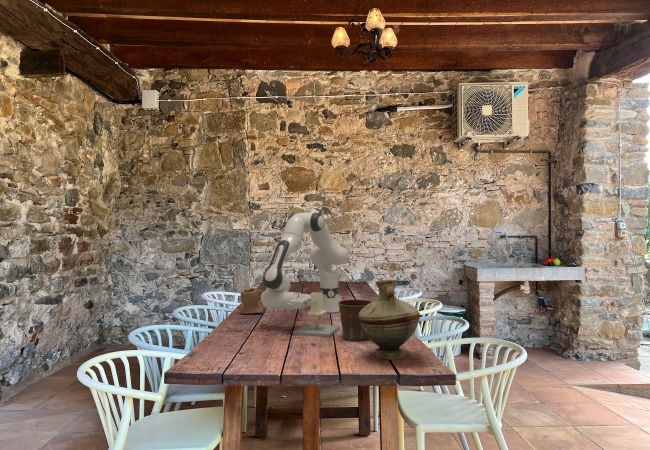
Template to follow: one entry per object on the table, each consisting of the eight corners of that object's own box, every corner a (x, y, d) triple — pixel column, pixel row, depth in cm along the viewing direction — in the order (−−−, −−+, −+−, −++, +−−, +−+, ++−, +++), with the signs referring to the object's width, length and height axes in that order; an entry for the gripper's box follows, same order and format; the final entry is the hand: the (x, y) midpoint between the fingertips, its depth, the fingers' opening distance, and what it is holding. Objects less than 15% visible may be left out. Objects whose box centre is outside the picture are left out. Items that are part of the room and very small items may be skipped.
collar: (306, 314, 207) (306, 293, 208) (312, 311, 215) (312, 291, 215) (321, 315, 205) (321, 294, 205) (326, 312, 212) (326, 292, 212)
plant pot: (372, 343, 187) (371, 306, 187) (335, 341, 191) (335, 305, 191) (375, 334, 203) (374, 299, 203) (341, 332, 206) (341, 299, 207)
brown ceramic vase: (383, 346, 185) (375, 276, 186) (435, 350, 170) (425, 274, 171) (352, 362, 166) (342, 285, 167) (406, 369, 151) (396, 283, 152)
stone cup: (238, 316, 249) (238, 290, 249) (241, 312, 261) (241, 287, 261) (264, 315, 249) (264, 289, 249) (266, 311, 261) (266, 286, 261)
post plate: (292, 334, 204) (292, 316, 204) (306, 326, 221) (306, 310, 221) (329, 336, 198) (329, 319, 199) (339, 328, 216) (339, 311, 216)
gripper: (283, 297, 204) (311, 299, 200) (299, 291, 224) (324, 292, 219) (283, 311, 204) (311, 312, 200) (299, 304, 223) (324, 305, 219)
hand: (318, 302), depth 210 cm, fingers closed on collar, 5 cm apart
